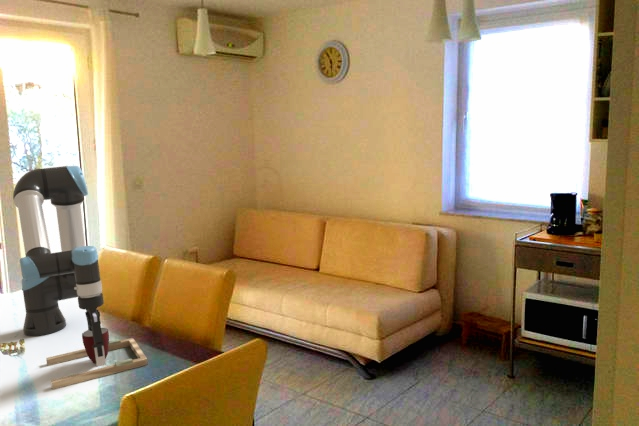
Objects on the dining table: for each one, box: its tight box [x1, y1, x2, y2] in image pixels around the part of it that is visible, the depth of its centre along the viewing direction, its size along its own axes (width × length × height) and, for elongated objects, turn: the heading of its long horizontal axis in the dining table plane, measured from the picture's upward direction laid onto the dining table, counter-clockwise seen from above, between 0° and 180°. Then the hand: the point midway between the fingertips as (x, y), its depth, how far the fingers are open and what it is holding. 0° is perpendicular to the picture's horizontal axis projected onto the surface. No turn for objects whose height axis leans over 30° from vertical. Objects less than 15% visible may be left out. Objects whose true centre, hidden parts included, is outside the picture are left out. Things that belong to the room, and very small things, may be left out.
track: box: [45, 337, 149, 390], centre depth 184 cm, size 23×28×3 cm
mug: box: [81, 327, 110, 364], centre depth 184 cm, size 10×8×10 cm
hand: (98, 359), depth 184 cm, fingers closed on mug, 10 cm apart
